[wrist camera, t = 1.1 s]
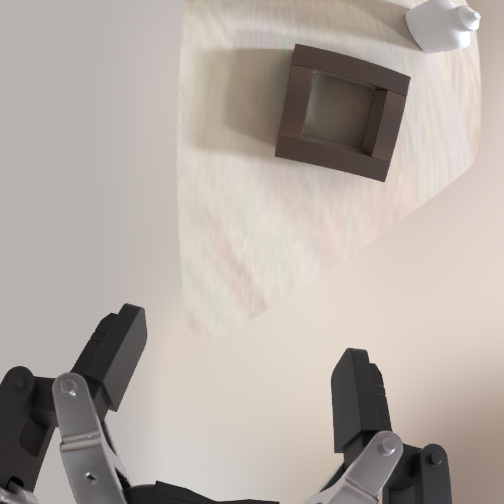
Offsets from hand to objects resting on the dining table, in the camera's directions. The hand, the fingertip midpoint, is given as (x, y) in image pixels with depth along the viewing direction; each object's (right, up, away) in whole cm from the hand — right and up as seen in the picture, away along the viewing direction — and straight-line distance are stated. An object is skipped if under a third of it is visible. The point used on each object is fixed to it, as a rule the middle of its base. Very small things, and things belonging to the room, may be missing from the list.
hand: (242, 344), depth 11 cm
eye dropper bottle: (+20, +28, +11) cm, 36 cm away
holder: (+10, +19, +18) cm, 28 cm away
